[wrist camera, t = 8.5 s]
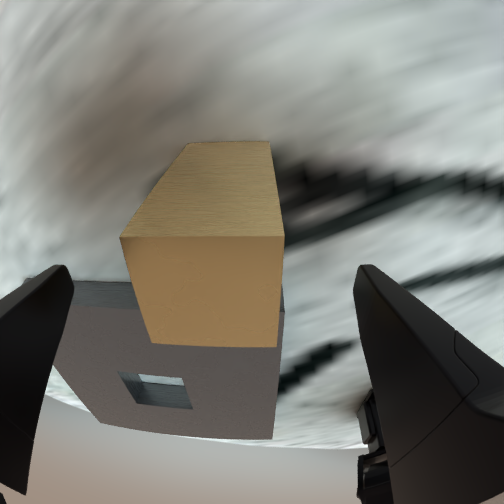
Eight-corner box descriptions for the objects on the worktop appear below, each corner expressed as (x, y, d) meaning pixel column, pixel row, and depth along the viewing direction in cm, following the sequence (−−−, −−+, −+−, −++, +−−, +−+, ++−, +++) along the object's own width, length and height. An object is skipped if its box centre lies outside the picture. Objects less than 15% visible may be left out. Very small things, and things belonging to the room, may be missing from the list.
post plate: (282, 284, 19) (284, 312, 17) (271, 419, 31) (272, 439, 29) (26, 278, 20) (11, 298, 18) (105, 405, 31) (100, 422, 29)
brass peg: (268, 141, 15) (284, 236, 7) (267, 213, 17) (276, 347, 9) (188, 143, 15) (119, 236, 7) (194, 213, 17) (151, 342, 9)
